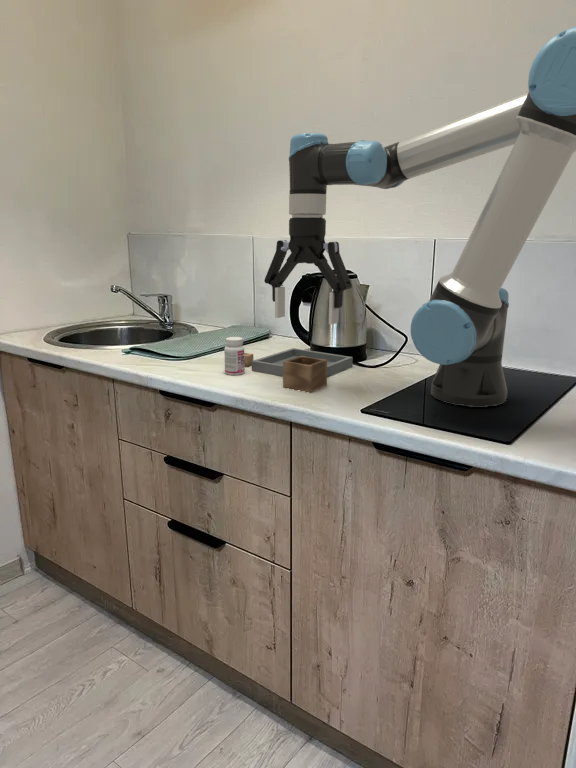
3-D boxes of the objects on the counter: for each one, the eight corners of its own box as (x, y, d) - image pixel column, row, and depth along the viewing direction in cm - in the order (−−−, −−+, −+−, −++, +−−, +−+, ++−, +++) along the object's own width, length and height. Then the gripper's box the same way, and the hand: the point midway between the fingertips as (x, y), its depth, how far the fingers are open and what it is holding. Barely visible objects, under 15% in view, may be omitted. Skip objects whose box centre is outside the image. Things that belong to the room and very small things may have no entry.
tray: (352, 366, 144) (352, 357, 143) (314, 382, 130) (314, 372, 129) (293, 356, 154) (293, 348, 153) (251, 370, 139) (251, 361, 139)
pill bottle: (241, 376, 135) (241, 340, 132) (222, 374, 136) (221, 339, 133) (247, 371, 139) (246, 336, 137) (228, 369, 140) (227, 335, 138)
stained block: (253, 365, 145) (253, 353, 144) (247, 368, 143) (247, 356, 142) (232, 363, 148) (232, 351, 147) (226, 365, 145) (226, 354, 144)
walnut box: (326, 386, 127) (327, 359, 126) (309, 393, 122) (310, 366, 120) (300, 381, 131) (300, 355, 130) (282, 388, 126) (283, 361, 124)
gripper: (371, 216, 113) (366, 323, 119) (268, 216, 126) (269, 312, 132) (353, 216, 107) (349, 329, 113) (247, 216, 120) (249, 316, 126)
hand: (305, 320), depth 122 cm, fingers open, 13 cm apart
